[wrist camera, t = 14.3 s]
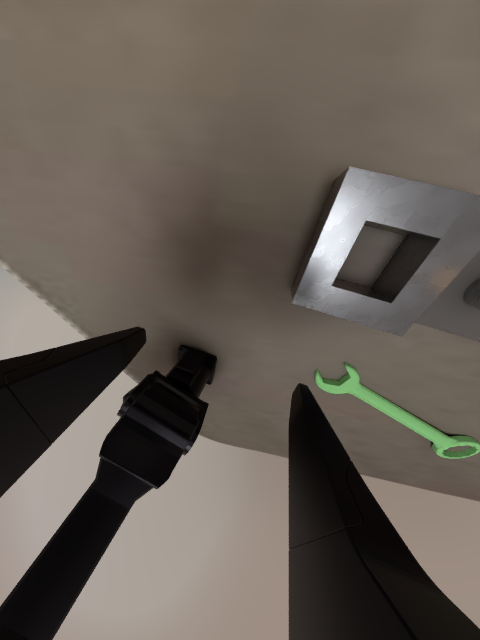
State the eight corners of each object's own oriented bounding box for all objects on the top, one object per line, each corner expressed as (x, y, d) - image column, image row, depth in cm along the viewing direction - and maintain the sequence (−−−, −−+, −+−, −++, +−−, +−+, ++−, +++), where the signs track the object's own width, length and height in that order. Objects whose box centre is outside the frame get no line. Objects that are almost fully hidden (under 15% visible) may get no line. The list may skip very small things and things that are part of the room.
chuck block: (381, 316, 19) (401, 336, 15) (291, 289, 20) (291, 302, 16) (462, 209, 14) (520, 204, 10) (335, 179, 15) (349, 166, 11)
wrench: (331, 350, 23) (306, 372, 26) (335, 359, 22) (307, 382, 24) (486, 442, 24) (445, 455, 26) (501, 458, 22) (456, 470, 25)
